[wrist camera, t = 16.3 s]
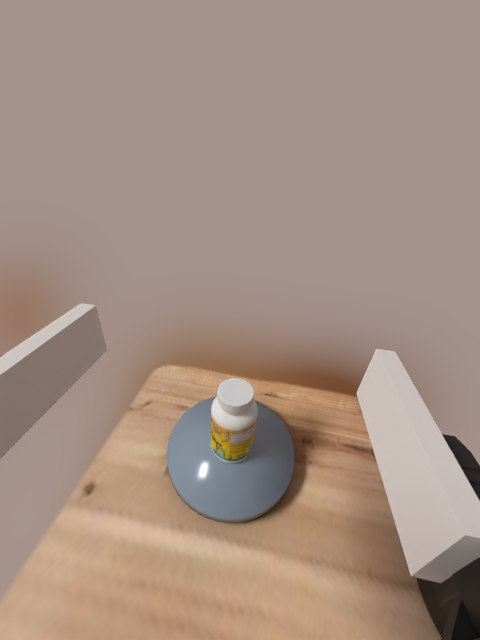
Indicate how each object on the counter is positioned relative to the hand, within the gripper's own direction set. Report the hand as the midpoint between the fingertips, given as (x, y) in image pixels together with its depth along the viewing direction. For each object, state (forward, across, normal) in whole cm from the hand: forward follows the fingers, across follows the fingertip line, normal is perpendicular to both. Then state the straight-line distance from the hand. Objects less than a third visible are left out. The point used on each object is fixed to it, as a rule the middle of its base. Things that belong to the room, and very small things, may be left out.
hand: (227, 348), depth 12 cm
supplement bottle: (+10, 0, -23) cm, 25 cm away
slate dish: (+10, 0, -25) cm, 27 cm away
